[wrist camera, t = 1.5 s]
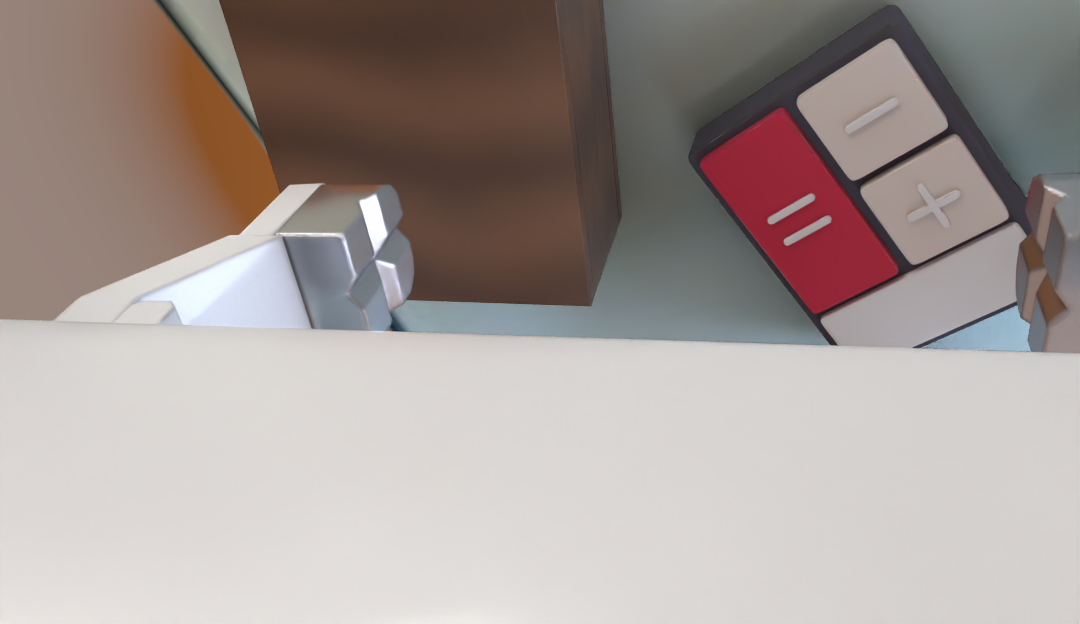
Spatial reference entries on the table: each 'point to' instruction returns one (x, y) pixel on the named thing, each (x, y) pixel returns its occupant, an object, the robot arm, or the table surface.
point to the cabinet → (450, 130)
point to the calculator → (870, 191)
